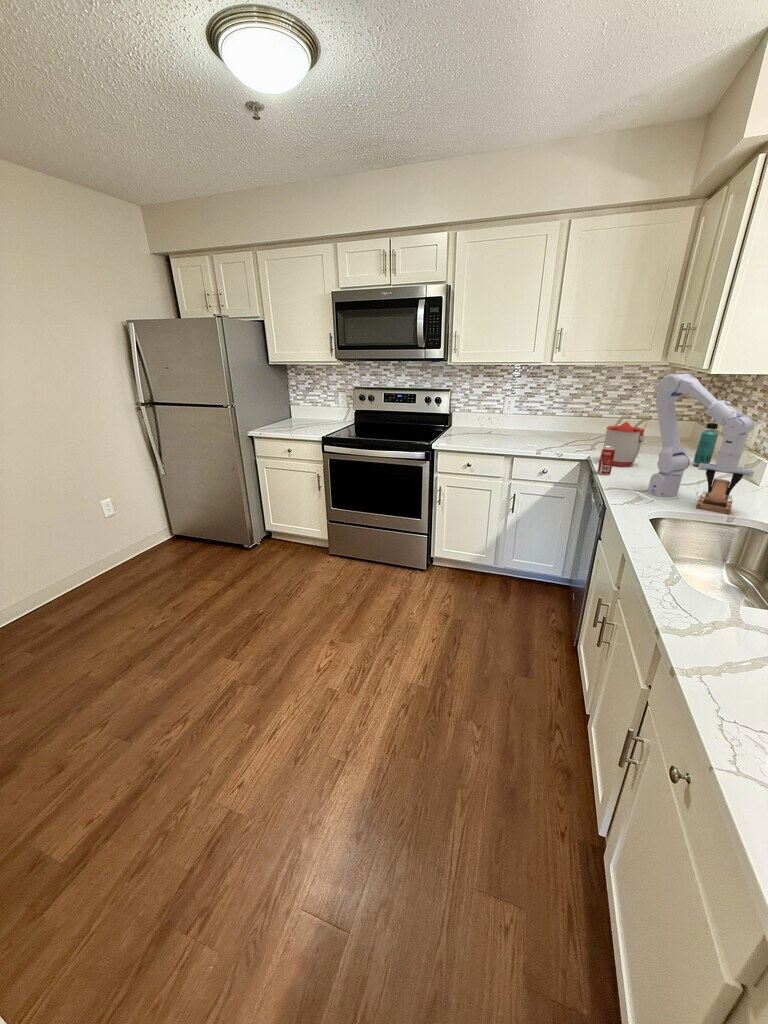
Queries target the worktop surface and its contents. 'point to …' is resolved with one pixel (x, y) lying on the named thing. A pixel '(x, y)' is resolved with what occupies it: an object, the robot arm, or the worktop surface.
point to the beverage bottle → (706, 445)
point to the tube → (718, 490)
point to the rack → (714, 504)
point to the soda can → (606, 460)
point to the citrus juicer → (624, 443)
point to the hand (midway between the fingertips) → (718, 493)
